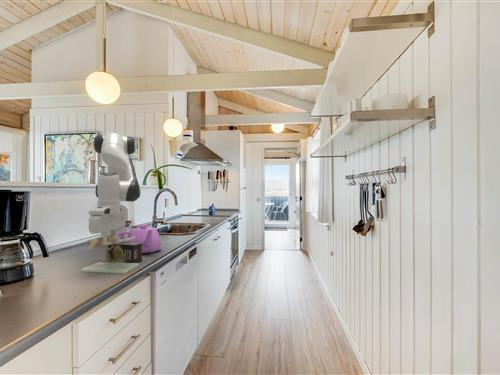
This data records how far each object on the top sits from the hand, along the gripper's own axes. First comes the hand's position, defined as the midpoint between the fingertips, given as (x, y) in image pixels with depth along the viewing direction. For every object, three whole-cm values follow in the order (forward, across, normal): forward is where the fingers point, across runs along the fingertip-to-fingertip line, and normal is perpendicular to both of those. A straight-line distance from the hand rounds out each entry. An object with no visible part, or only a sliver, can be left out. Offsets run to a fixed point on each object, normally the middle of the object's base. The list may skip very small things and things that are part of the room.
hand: (108, 240), depth 114 cm
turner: (+1, 0, +1) cm, 2 cm away
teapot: (+12, -30, 0) cm, 33 cm away
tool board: (+12, 0, +1) cm, 12 cm away
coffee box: (+8, -12, -8) cm, 17 cm away
